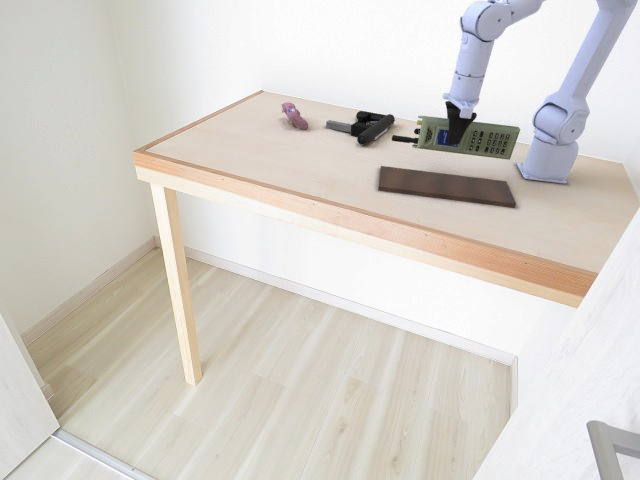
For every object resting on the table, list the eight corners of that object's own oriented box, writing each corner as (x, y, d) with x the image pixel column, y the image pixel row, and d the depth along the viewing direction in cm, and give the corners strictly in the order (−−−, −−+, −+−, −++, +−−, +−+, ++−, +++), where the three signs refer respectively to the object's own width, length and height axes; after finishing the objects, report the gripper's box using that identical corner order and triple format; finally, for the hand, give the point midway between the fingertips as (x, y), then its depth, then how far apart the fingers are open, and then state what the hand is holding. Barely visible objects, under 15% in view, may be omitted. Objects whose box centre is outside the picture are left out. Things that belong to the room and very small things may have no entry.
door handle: (315, 125, 110) (371, 136, 103) (349, 105, 124) (400, 114, 117) (315, 137, 112) (370, 149, 105) (348, 116, 126) (399, 126, 119)
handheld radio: (510, 161, 87) (390, 146, 90) (507, 155, 90) (391, 140, 92) (521, 130, 83) (395, 116, 86) (518, 125, 86) (396, 111, 89)
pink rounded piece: (287, 123, 121) (276, 101, 116) (300, 115, 120) (290, 93, 116) (295, 136, 113) (284, 114, 109) (310, 128, 113) (299, 105, 108)
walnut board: (505, 184, 93) (506, 181, 93) (514, 207, 85) (516, 203, 85) (380, 169, 96) (380, 165, 96) (378, 190, 88) (378, 186, 87)
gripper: (445, 62, 86) (431, 126, 94) (451, 81, 75) (435, 151, 83) (480, 66, 86) (463, 129, 94) (492, 85, 74) (471, 156, 82)
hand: (452, 140), depth 88 cm, fingers closed on handheld radio, 3 cm apart
